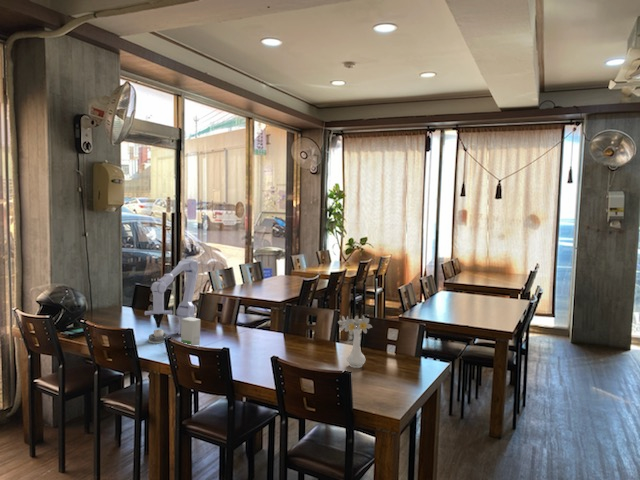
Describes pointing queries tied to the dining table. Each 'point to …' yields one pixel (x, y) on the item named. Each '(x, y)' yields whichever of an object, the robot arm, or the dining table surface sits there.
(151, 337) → the round grey ashtray
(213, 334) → the dining table surface
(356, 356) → the flower vase
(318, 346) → the dining table surface
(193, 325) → the skincare box
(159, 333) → the cap
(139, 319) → the dining table surface
